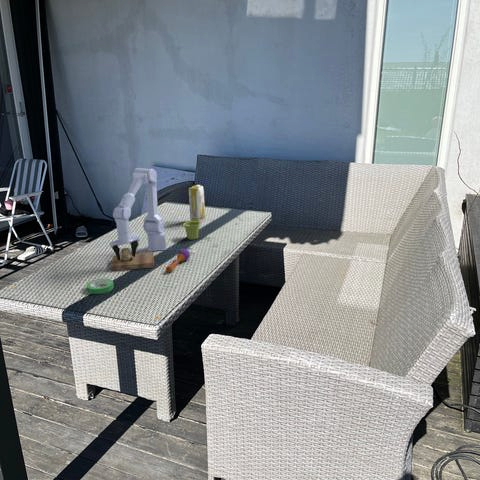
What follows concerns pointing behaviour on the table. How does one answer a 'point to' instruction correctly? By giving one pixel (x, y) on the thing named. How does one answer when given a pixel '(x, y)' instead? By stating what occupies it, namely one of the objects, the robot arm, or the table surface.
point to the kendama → (179, 259)
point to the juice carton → (197, 203)
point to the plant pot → (192, 229)
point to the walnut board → (133, 262)
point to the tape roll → (100, 290)
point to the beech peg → (125, 254)
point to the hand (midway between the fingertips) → (126, 257)
